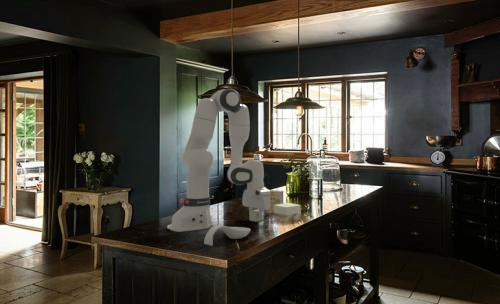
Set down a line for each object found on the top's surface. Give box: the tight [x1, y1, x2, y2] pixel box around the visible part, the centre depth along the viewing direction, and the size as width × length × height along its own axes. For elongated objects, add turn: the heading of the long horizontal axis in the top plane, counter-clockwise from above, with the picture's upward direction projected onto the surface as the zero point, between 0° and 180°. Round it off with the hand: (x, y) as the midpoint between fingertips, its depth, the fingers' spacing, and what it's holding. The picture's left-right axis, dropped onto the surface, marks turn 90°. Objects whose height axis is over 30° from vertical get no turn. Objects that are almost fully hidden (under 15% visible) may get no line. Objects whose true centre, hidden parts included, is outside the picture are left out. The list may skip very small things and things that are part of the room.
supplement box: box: [267, 189, 284, 215], centre depth 236 cm, size 8×5×13 cm, turn 62°
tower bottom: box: [273, 212, 302, 223], centre depth 220 cm, size 10×10×4 cm
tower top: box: [274, 202, 302, 215], centre depth 219 cm, size 10×10×4 cm
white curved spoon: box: [203, 224, 251, 247], centre depth 178 cm, size 24×12×7 cm, turn 140°
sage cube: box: [248, 209, 264, 222], centre depth 218 cm, size 5×5×5 cm
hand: (256, 216), depth 218 cm, fingers closed on sage cube, 5 cm apart
